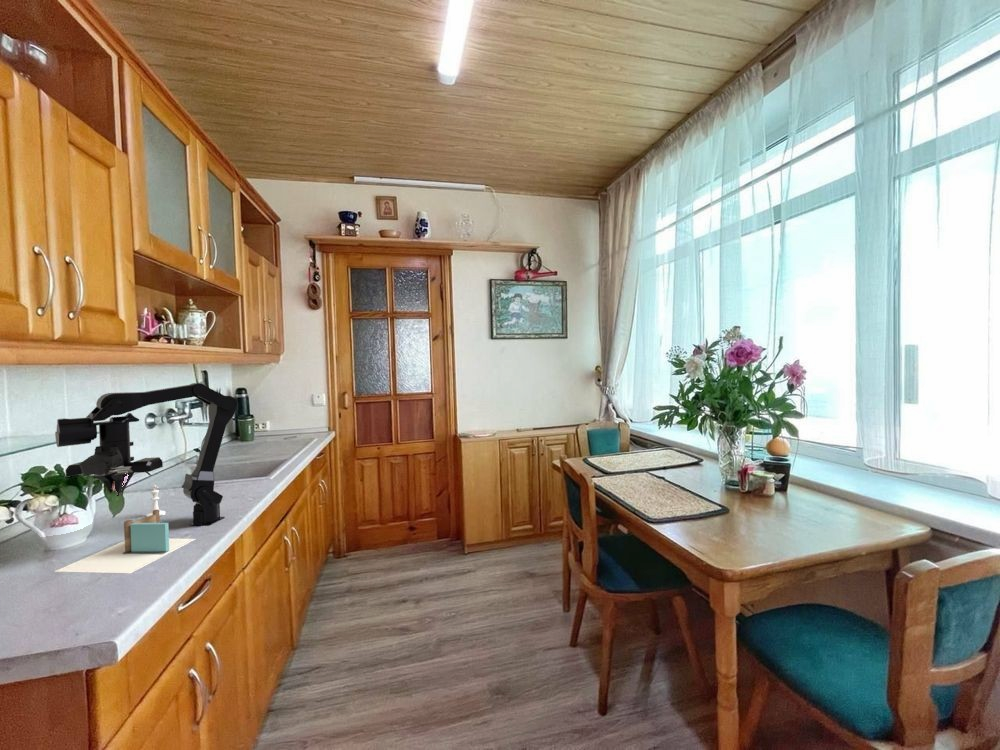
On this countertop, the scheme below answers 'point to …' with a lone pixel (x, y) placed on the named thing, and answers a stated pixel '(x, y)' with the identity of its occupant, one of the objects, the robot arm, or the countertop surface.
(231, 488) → the countertop surface
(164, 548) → the mint green upright panel
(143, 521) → the fence fixed
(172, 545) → the card
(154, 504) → the chess piece
